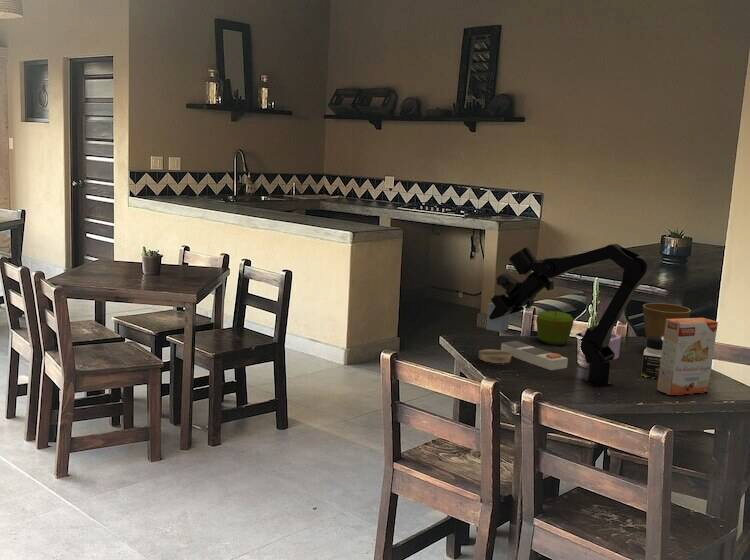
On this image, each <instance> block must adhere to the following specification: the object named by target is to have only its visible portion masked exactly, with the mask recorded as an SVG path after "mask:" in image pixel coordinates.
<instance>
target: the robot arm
mask: <svg viewBox="0 0 750 560" xmlns="http://www.w3.org/2000/svg"><path fill="white" fill-rule="evenodd" d="M607 260H611V261H612V262H614V263H615V264H616V265H617V266H619V267H620V268H621V269H623V272H622V276H621V277H622V278H621V282H620V285H619V287H618V288H617V290H616V291H615V293H614V295H613V297H612V299H611V301H610V302H609V304H608V306H607V307H606V309H605V311H604V312H603V315H602V316H601V318H600V319H599V322H598V323H597V325H593V326H589V327H587V328H586V330H585V331H586V332H585V335H584V336H583V338H582V339H581V338H580V339H579V340H580V342H581V341H582V342H581V346H580V345H579V348H580V347H581V350H582V352H583V354H584V355H585V356H584V358H585V359H584V360H585V362H586V364H588V365H587V373H586V374H587V375H586V377H582V378H581V380H582V381H584V382H586V383H588V384H589V385H591V386H593V387H594V386H597V387H599V386H613V385H614V384H613V383H612V382H611V381H609V377H610V367H611V363H610V362H612V361H613V358H614V356H615V354H614V352H613V351H612V350H611V348H610V347H609V346H608V345H609V342H610V339H611V333H612V330H614V328H615V326H616V324H617V323H618V321H619V319H620V317H621V316H622V314H623V312H624V311H625V309H626V307H628V306H627V305H628V304H629V302H630V300H631V298H632V297H633V295H634V293H635V292H636V291H637V289H638V288H639V287H640V286H641V285H642V284H643V283H644V282H645V281H646V280H647V279H648V278H649V277H650V275H651V274H652V273H653V271H654V269H655V264H654V262H653V260H652V258H650V257H649V256H647V255H640V254H638V253H637V252H634V251H631V250H630V249H627V248H625V247H624V246H621V245H620V244H619V243H610V244H608V245H606V246H603V247H600V248H599V247H598V248H596V249H592V250H589V251H588V250H587V251H585V252H582V253H578V254H575V255H565V256H554V257H549V258H546V259H544V260H542V259H540V260H537V259H536V257H535V256H534V254H533V253H532V251H531V249H530V248H529V247H523V248H522V249H521V250H519V251H517V252H516V253H514V254H511V255H510V257H509V258H508V261H509V262H510V264H511V266H512V267H513V268H514V269H515V270H516V272H517V274H518V275H520V276H522V275H523V276H526V277H525V278H523V280H521V281H519V280H518V279H517V278H515V277H513V276H512V275H510V274H509V273H507V272H504V273H500V274H499V276H498V277H496V278H495V279H496V282H495V283H496V284H497V286H500V287H501V288H503V289H504V290H506V291H505V294H506V295H507V296H506V295H505V294H504V293H499V294H495V295H493V296H492V297H491V298H490V300H491V303H493V304H494V305H495V308H494V310H493V311H492V313H491V315H490V316H489V318H490V319H491V320H492V319H496V318H499V317H502V316H505V315H508V314H510V315H512V314H515V313H518V312H521V311H524V310H525V309H526V310H527V309H530V308H532V307H533V306H534V305H535V298H536V297H537V294H539V293H540V292H541V291H543V289H545V290H546V291H552V290H555V280H551V279H553V278H558V277H561V276H563V275H565V274H568V273H569V272H571V271H574V269H577V268H580V267H584V266H588V265H592V264H596V263H598V262H599V263H600V262H602V261H607Z"/></svg>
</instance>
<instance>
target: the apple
mask: <svg viewBox="0 0 750 560" xmlns="http://www.w3.org/2000/svg"><path fill="white" fill-rule="evenodd" d="M535 321H536V329H537V330H536V331H537V337H538V339H539V340H540V341H542V342H543V343H545V344H549V345H553V346H562V345H564V344H565V343H567V342H568V341H569V340H570V336H571V332H572V328H573V327H574V326H573V325H574V317H573V316H572V314H569V313H567V312H564V311H563V312H562V311H557V310H548V311H542V312H540V313H538V314H537V316H536V320H535Z"/></svg>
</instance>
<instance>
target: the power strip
mask: <svg viewBox="0 0 750 560" xmlns="http://www.w3.org/2000/svg"><path fill="white" fill-rule="evenodd" d="M500 350H501V351H505V352H508V353H510V354H511V357H512V356H513V357H512V358H515V359H518V360H521V361H523V362H527V363H528V364H532V365H534V366H537V367H541V368H543V369H546V370H548V371H554V370H562V369H567V368H568V360H569V358H568V357H565V356H562V354H559V353H555V352H554V353H553V352H550V351H549V350H544V349H542V348H539V347H535V346H532V345H530V344H527V343H524V342H521V341H519V340H512V341H506V342H504V341H503V342H501V346H500Z"/></svg>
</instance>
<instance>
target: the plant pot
mask: <svg viewBox="0 0 750 560" xmlns="http://www.w3.org/2000/svg"><path fill="white" fill-rule="evenodd" d="M691 311H692V310H691V309H690V308H688V307H685V306H682V305H679V304H678V305H677V304H672V303H660V302H651V303H650V302H649V303H644V304H643V305H642V313H643V324H644V332H645V338H646V339H647V338H648V337H649V336H662V337H664V331H665V323H666V319H680V318H690V315H691Z"/></svg>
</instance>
